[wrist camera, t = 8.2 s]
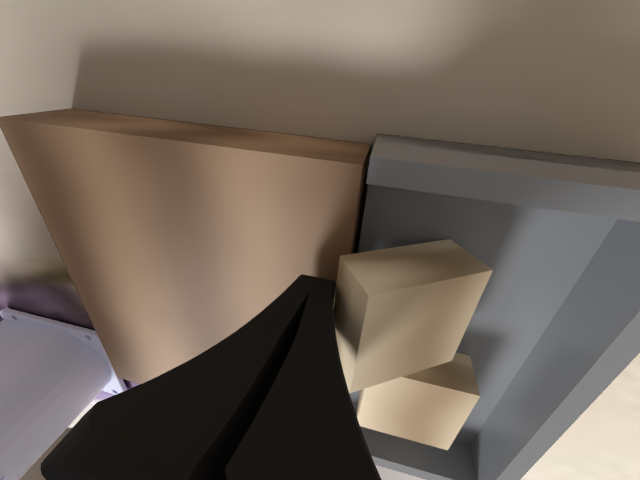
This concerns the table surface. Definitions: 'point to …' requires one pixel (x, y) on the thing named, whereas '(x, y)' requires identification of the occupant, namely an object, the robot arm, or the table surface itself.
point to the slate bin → (516, 288)
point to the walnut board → (184, 223)
